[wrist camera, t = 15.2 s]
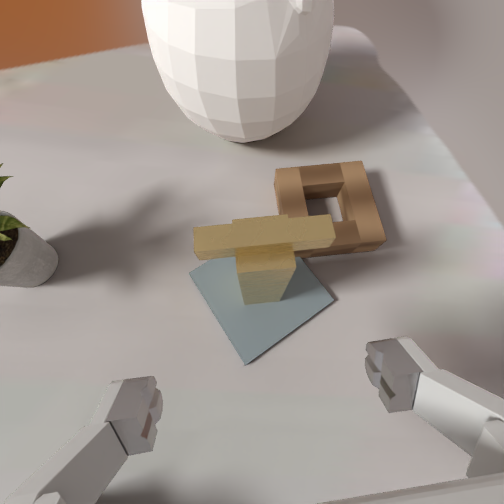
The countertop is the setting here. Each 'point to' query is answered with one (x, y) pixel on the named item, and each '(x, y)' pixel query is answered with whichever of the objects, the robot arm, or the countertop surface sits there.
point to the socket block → (349, 197)
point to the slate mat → (258, 305)
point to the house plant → (23, 253)
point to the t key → (264, 250)
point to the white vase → (240, 60)
